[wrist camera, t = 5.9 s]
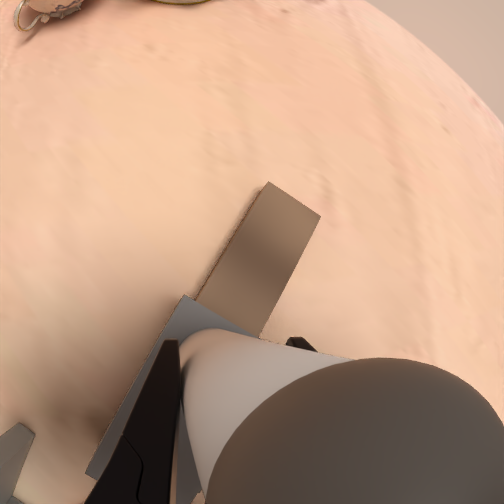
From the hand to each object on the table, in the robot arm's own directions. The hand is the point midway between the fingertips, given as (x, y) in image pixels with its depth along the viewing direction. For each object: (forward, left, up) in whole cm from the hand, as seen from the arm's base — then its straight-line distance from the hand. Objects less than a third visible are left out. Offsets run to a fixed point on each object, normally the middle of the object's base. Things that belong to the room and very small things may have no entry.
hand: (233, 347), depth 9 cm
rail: (+4, -1, -8) cm, 9 cm away
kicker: (-4, -1, -8) cm, 9 cm away
